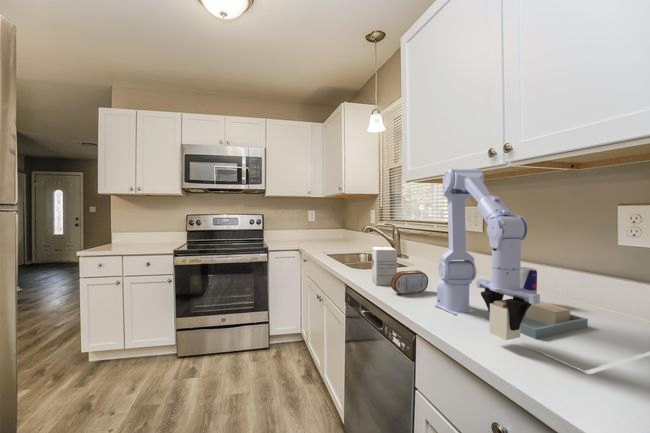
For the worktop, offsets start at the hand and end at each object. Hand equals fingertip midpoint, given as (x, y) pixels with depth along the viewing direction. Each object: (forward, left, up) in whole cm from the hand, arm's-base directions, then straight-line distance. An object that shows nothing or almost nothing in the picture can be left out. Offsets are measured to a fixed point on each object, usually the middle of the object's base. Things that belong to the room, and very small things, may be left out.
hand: (504, 325), depth 70 cm
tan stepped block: (-6, +24, -4) cm, 25 cm away
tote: (-6, +19, -5) cm, 20 cm away
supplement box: (-61, +5, -5) cm, 61 cm away
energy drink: (-19, +34, -5) cm, 39 cm away
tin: (-44, +6, -5) cm, 45 cm away
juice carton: (0, 0, -2) cm, 2 cm away
